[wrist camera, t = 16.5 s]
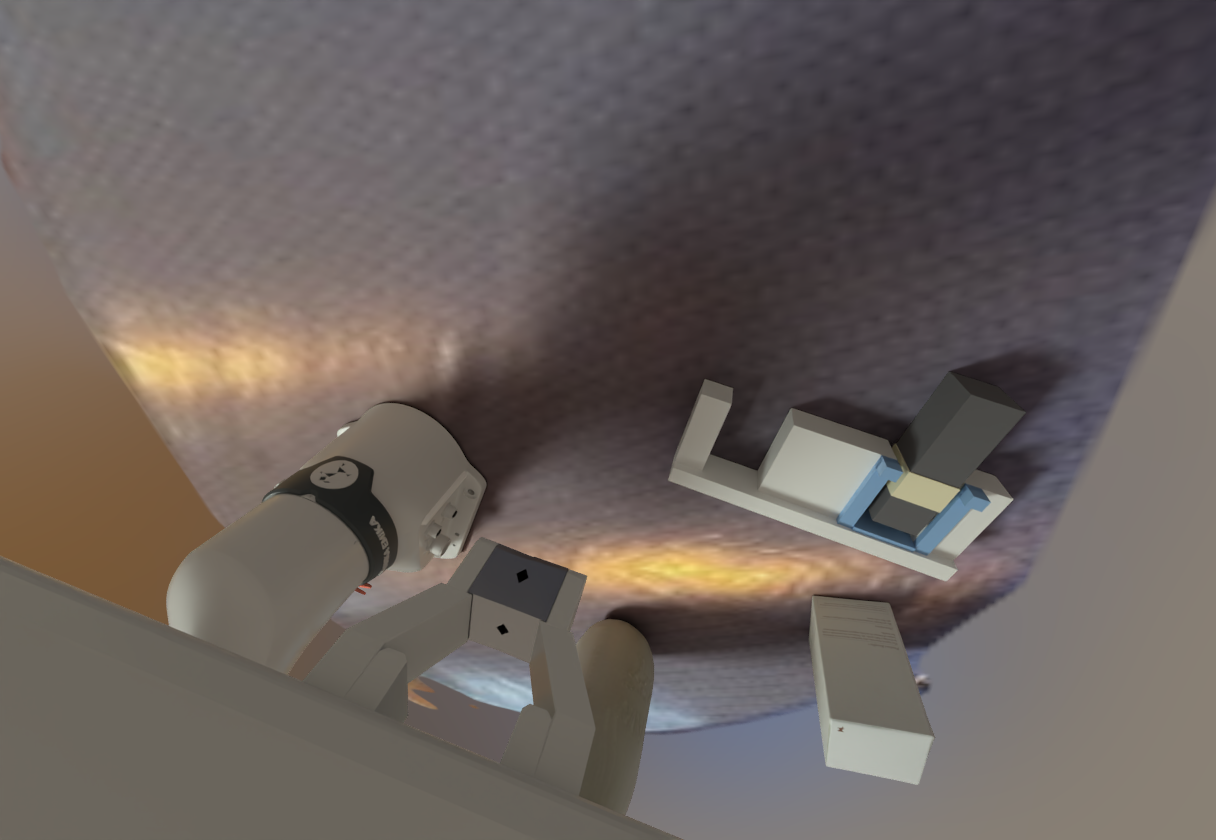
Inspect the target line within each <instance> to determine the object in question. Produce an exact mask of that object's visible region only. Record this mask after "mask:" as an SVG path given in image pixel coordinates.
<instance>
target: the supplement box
mask: <svg viewBox="0 0 1216 840" xmlns="http://www.w3.org/2000/svg"><path fill="white" fill-rule="evenodd" d="M809 644H810V651H811V659H812V666H813V674H814V681H815V689H816V696H817V704H818V712H819V720H820V727H821V734H822V741H823V748H824V755H825V763H826V766H828V767H832V768H838V769H843V770H848V771H853V772H858V773H864V774H868V775H874V776H878V777H883V778H888V779H893V780H898V781H902V782H907V783H912V784H916V785H918V784H919V782H920V779H921V776H922V772H923V769H924V766H925V762H926V760H927V757H928V754H929V752H930V749H931V746H932V744H933V741H934V738H935V736H934V733H933V731H932V728H931V726H930V723H929V721H928V718H927V715H926V712H925V709H924V705H923V703H922V700H921V696H920V693H919V690H918V687H917V684H916V681H915V678H914V675H913V672H912V668H911V665H910V662H909V659H908V656H907V653H906V650H905V647H904V644H903V641H902V638H901V635H900V632H899V629H898V627H897V624H896V621H895V618H894V615H893V612H892V609H891V606H890V604H889V603H884V602H873V601H863V600H852V599H842V598H832V597H822V596H812V607H811V619H810V631H809Z"/></svg>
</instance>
